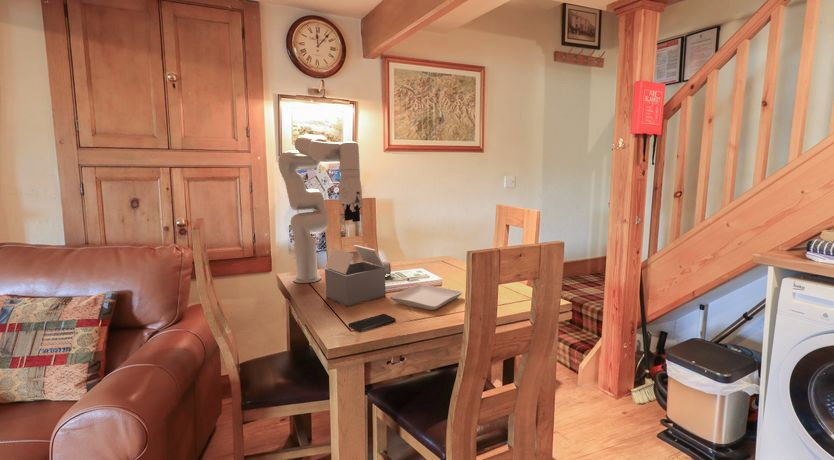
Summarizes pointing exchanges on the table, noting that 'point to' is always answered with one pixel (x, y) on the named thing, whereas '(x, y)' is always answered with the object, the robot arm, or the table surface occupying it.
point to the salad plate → (425, 296)
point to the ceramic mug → (386, 267)
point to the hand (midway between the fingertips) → (352, 220)
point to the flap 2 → (368, 255)
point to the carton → (356, 284)
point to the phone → (372, 322)
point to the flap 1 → (339, 261)
